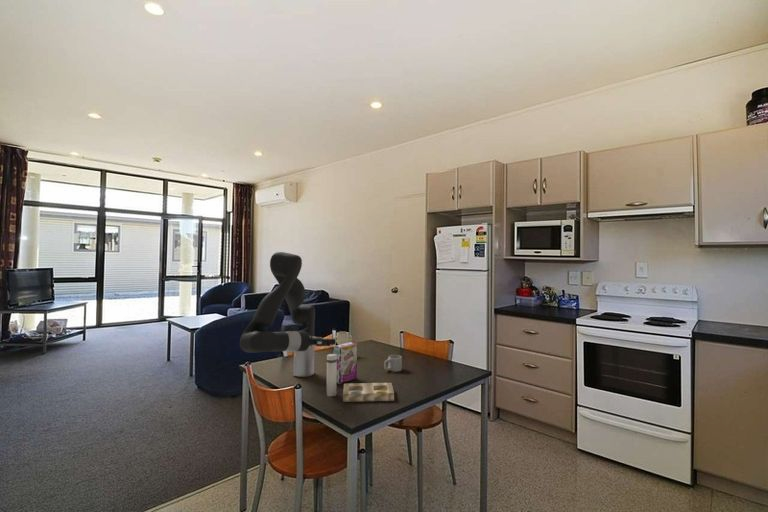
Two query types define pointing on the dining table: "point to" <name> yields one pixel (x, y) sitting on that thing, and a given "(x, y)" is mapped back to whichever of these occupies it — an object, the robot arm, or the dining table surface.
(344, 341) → the character mug
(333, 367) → the white tall cylinder
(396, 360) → the mug
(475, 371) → the dining table surface
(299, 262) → the robot arm
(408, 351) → the dining table surface
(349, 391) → the socket board
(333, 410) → the dining table surface
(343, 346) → the candy bar box
